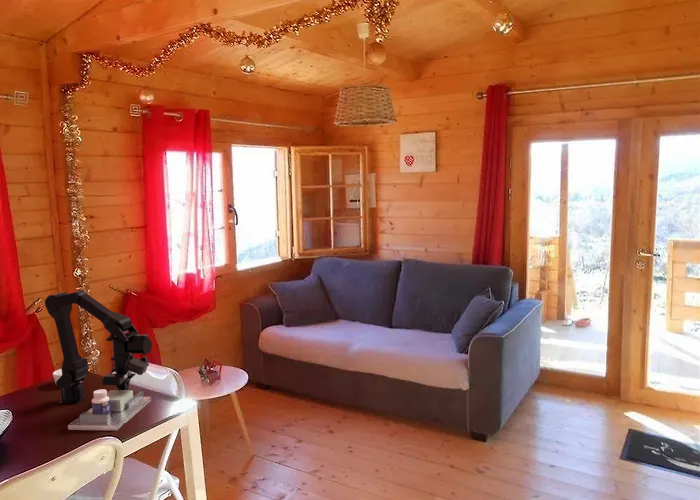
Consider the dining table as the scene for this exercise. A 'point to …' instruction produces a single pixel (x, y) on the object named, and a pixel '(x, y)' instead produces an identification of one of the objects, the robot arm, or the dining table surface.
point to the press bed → (110, 416)
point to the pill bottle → (100, 401)
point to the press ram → (119, 399)
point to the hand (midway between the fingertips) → (124, 395)
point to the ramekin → (57, 374)
